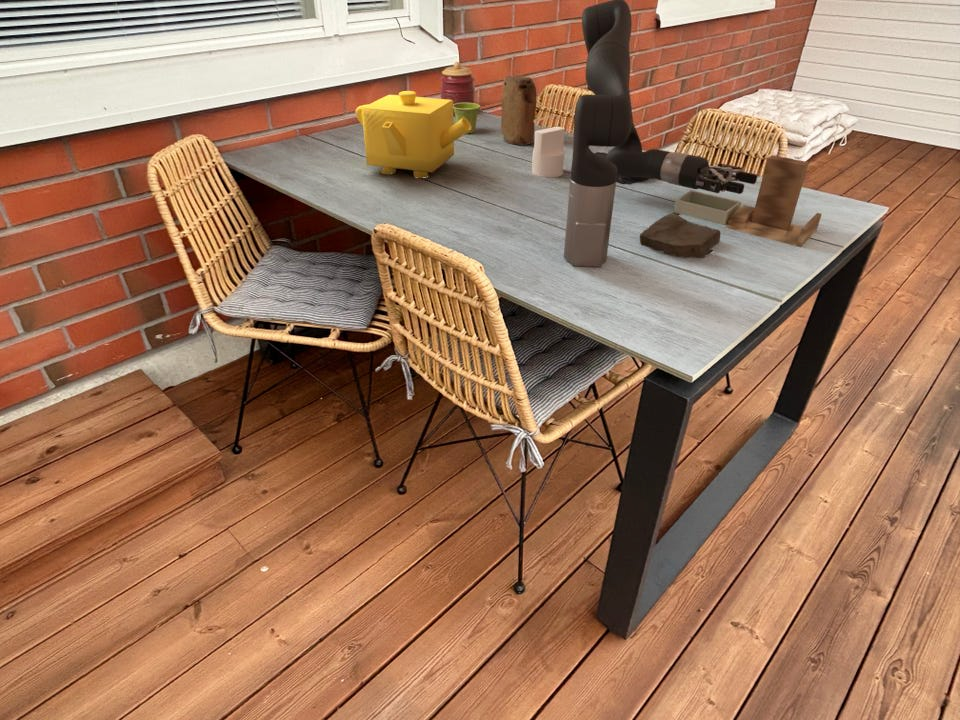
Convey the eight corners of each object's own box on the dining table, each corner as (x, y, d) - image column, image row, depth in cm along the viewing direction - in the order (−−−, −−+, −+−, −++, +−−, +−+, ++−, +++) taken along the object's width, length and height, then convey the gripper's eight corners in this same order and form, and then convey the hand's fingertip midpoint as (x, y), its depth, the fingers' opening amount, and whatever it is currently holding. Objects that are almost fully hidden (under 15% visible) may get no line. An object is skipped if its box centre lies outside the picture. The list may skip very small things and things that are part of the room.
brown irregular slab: (667, 226, 156) (670, 209, 153) (726, 243, 148) (730, 225, 145) (632, 247, 145) (634, 230, 143) (693, 267, 137) (697, 249, 135)
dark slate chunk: (606, 158, 200) (608, 142, 197) (663, 177, 186) (665, 160, 183) (571, 168, 192) (572, 151, 190) (627, 188, 178) (629, 171, 175)
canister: (457, 118, 238) (457, 66, 228) (433, 112, 245) (431, 61, 235) (481, 112, 246) (482, 61, 236) (457, 106, 253) (457, 57, 243)
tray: (672, 215, 160) (675, 200, 158) (687, 205, 166) (690, 190, 164) (723, 228, 154) (727, 212, 151) (737, 217, 159) (741, 201, 157)
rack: (723, 231, 152) (728, 211, 150) (741, 216, 160) (746, 196, 157) (799, 251, 143) (806, 229, 141) (815, 234, 151) (821, 213, 148)
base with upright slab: (545, 179, 182) (548, 136, 176) (525, 171, 188) (527, 128, 182) (569, 173, 187) (572, 130, 180) (548, 165, 193) (551, 124, 186)
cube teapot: (335, 179, 182) (325, 99, 170) (381, 149, 205) (376, 78, 193) (451, 193, 172) (449, 110, 160) (486, 161, 196) (487, 86, 184)
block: (498, 140, 214) (499, 75, 203) (514, 136, 218) (517, 72, 207) (521, 147, 207) (524, 81, 196) (537, 143, 211) (541, 78, 200)
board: (750, 226, 152) (767, 158, 143) (754, 222, 154) (771, 155, 145) (784, 234, 148) (804, 165, 139) (788, 230, 150) (808, 162, 141)
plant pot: (468, 126, 228) (468, 101, 223) (485, 132, 222) (485, 106, 217) (447, 131, 223) (446, 105, 218) (464, 137, 217) (464, 110, 212)
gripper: (674, 161, 151) (742, 176, 143) (698, 148, 161) (764, 160, 152) (668, 193, 156) (735, 208, 147) (693, 177, 165) (756, 191, 157)
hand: (749, 184), depth 150 cm, fingers open, 8 cm apart
